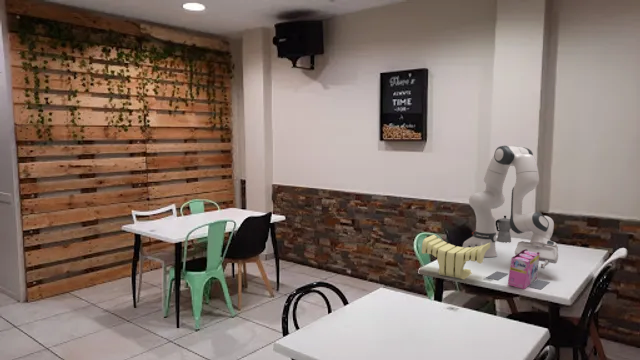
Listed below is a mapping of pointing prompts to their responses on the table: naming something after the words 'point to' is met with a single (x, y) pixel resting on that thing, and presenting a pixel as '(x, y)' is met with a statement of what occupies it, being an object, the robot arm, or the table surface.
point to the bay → (536, 284)
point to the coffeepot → (503, 230)
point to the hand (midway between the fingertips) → (532, 266)
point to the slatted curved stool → (453, 256)
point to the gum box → (523, 269)
